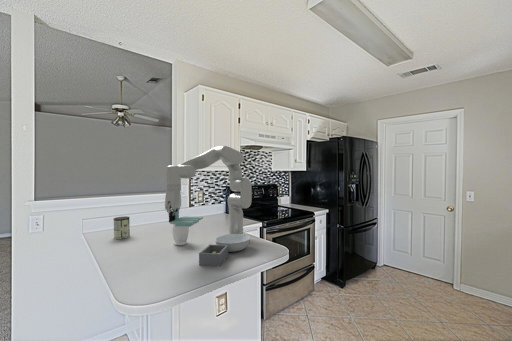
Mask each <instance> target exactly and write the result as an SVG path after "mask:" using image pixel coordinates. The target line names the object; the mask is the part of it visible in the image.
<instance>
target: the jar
mask: <svg viewBox="0 0 512 341" xmlns="http://www.w3.org/2000/svg"><path fill="white" fill-rule="evenodd" d="M189 232H190V227H183V226H175V224H172V229H171V233H172V238H173V241H174V243H173V245H175V246H183V245H187V244H188V239H189Z"/></svg>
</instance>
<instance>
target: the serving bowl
mask: <svg viewBox="0 0 512 341" xmlns="http://www.w3.org/2000/svg"><path fill="white" fill-rule="evenodd" d="M214 241H215V245H228V253H229V252H230V253H232V252H239V251H242V250H243V249H246V248H247V247H248V246H249V245H250V242H251V236H249V235H247V234H244V233H243V234H230V233H228V234H224V235H223V234H222V235H218V236H217V237H216V238H215V239H214Z"/></svg>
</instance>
